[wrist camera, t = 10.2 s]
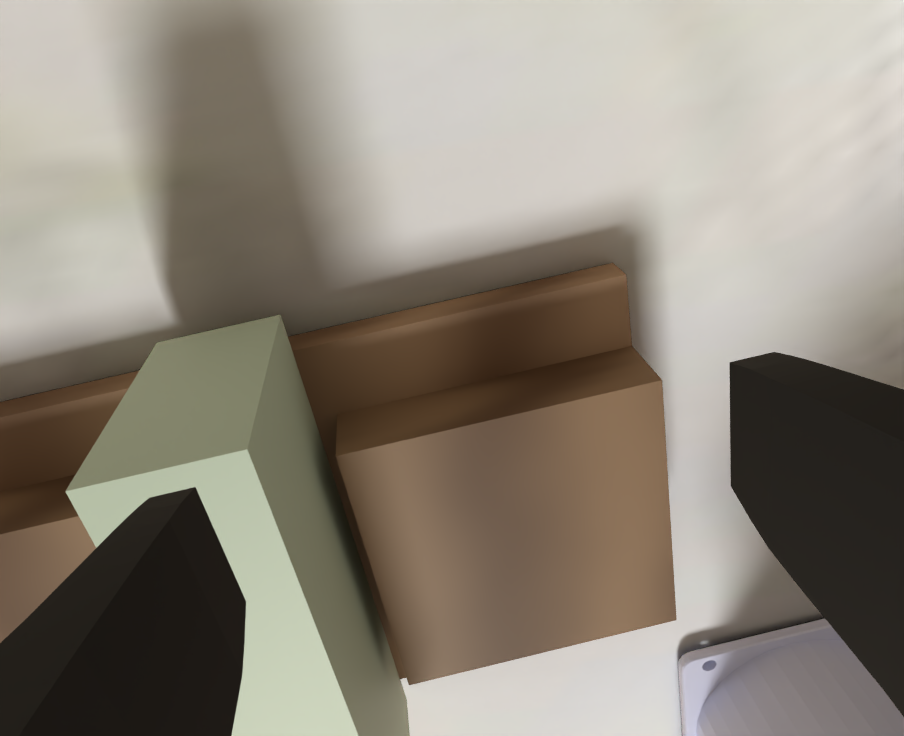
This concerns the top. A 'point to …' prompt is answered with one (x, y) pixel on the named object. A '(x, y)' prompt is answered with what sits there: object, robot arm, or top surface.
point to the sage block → (256, 524)
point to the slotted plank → (434, 472)
